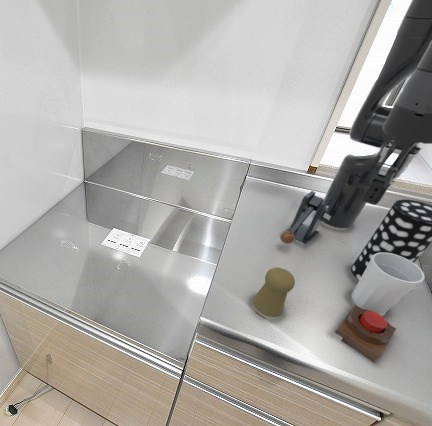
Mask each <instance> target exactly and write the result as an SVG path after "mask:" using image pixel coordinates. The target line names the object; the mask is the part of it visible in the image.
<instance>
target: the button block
mask: <svg viewBox="0 0 432 426" xmlns="http://www.w3.org/2000/svg"><path fill="white" fill-rule="evenodd" d="M366 311H370V310H366V309H362V308H360V307H359V306H358V305H357V304H355V305H354V306H353V307H352V308H351V310H350V311H349V313H348V314H347V315H346V316H345V318H344V319H343V320H342V321H341V323H340V324H339V325H338V327H337V328H336V330H335V331H334V333H335V334H337V335H338V336H340V337H341V341H342V342H343V344H346V345H347V346H348V347H350V348H352V349H353V350H355V351H356V352H358V353H359V354H360V355H362V356H363V357H365V358H367V359H368V360H370V361H371V362H373V363H375V362H376V361H378V360H379V358H380V357H381V356H382V354H383V352H384V351H385V349H386V347H387V346H388V343H389V342H390V340H391V338H392V337H393V335H394V334H395V332H396V330H397V327H395V326H393V325H391V324H390V323H389V322H388V321H387V320H386V322H387V326H386V327H385V328H384V329H383V331H382V332H380V333H374V332H371V331H369V330H367V329H366V328H364V327H363V326H362V325H361V323H360V321H359V319H360V317H361V316H362V315H363V313H364V312H366ZM372 312H373V311H372Z"/></svg>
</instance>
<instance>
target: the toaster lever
mask: <svg viewBox="0 0 432 426" xmlns="http://www.w3.org/2000/svg"><path fill="white" fill-rule="evenodd" d="M323 200H324V198H322V197H319V196H317V195H314V197H313V198H312V199H311V200H310V202H309V203H308V209H307V210H306V211H305V212H304V214H303V215H302V216H301V217H300V218H299V220H298V221H297V222H296V223H295V224H294V226H293V227H292V228H291V229H290V231H286V230H285V231H283V232H281V234H280V236H279V238H280V241H281V242H282V243H284V244H288V245H289V244H292V243H293V242H294V241H295V240H296V239H295V236H294V233H295V232H296V231H297V230H298V228H299V227H300V226H301V225H302V224H304V223H305V221H306V220H307V219H308V218H309V216H310V215H311V214H312V213H313V211H314V212H317V210H318V208H319V206H320V204H321V203H322V202H323Z"/></svg>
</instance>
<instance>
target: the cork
mask: <svg viewBox="0 0 432 426" xmlns="http://www.w3.org/2000/svg"><path fill="white" fill-rule="evenodd" d="M295 285H296V280H295V277H294V275H293V274H292V273H291V272H290V271H289V270H288V269H285V268H282V267H273V268H270V269H269V270H268V271H266V273H265V276H264V283H263V285H262V286H261V287H260V289H259V291H258V292H257V293H256V294H255V296H254V298H253V300H252V304H253V306H254V308H255V309H254V308H253V309H252V310H253V312H254V313H255V314H256V315H257V316H259V317H260V318H262V319H264V320H267V318H266V317H268V318H277V317H279V316H280V315H282V314H283V313H282V312H283V310H284V307H285V303H286V298H287V297H288V293H289V292H291V291H292V290H293V289H294V287H295ZM263 315H264V316H263Z"/></svg>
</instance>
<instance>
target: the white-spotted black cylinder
mask: <svg viewBox="0 0 432 426" xmlns="http://www.w3.org/2000/svg"><path fill="white" fill-rule="evenodd" d="M431 244H432V205H431V204H429V203H426V202H423V201H418V200H414V199H398V200H395V202H393V204H392V206H391V207H390V208H389V210H388V212H387V213H386V214H385V216H384V218H383V219H382V221H381V222H380V224H379V225H378V227H377V228H376V229H375V231H374V233H373V234H372V236H371V237H370V239H369V240H368V242H367V243H366V244H365V246H364V247H363V249H362V251H361V252H360V254H358V256H357V258H356V260H355V261H354V263H353V264H351V265H352V266H350V271H351V274H352V275H353V277H355V278H356V280H358V281H359V280H360V278H361V277H362V275H363V273H364V271H365V269H366V268H367V266H368V264H369V262H370V260H371V258H372V256H373V255H374V254H376V253H381V252H385V253H392V254H396V255H399V256H401V257H404V258H406V259H408V260H410V261H411V262H413V263H414V264H416V263H415V262H417V260H418V259H419V258H420V257H421V255H423V253H424V252H425V251H426V250H427V249H428V247H429V246H430V245H431Z"/></svg>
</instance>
